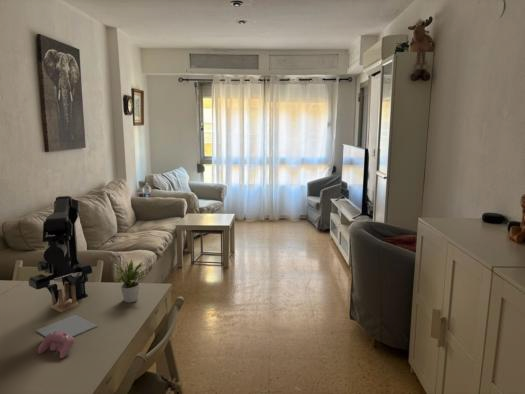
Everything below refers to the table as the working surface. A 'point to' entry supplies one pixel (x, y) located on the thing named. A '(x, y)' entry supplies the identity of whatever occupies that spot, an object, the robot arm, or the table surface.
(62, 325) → the mat
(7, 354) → the table surface
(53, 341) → the video game controller
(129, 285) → the house plant
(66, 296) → the stool
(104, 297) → the table surface
